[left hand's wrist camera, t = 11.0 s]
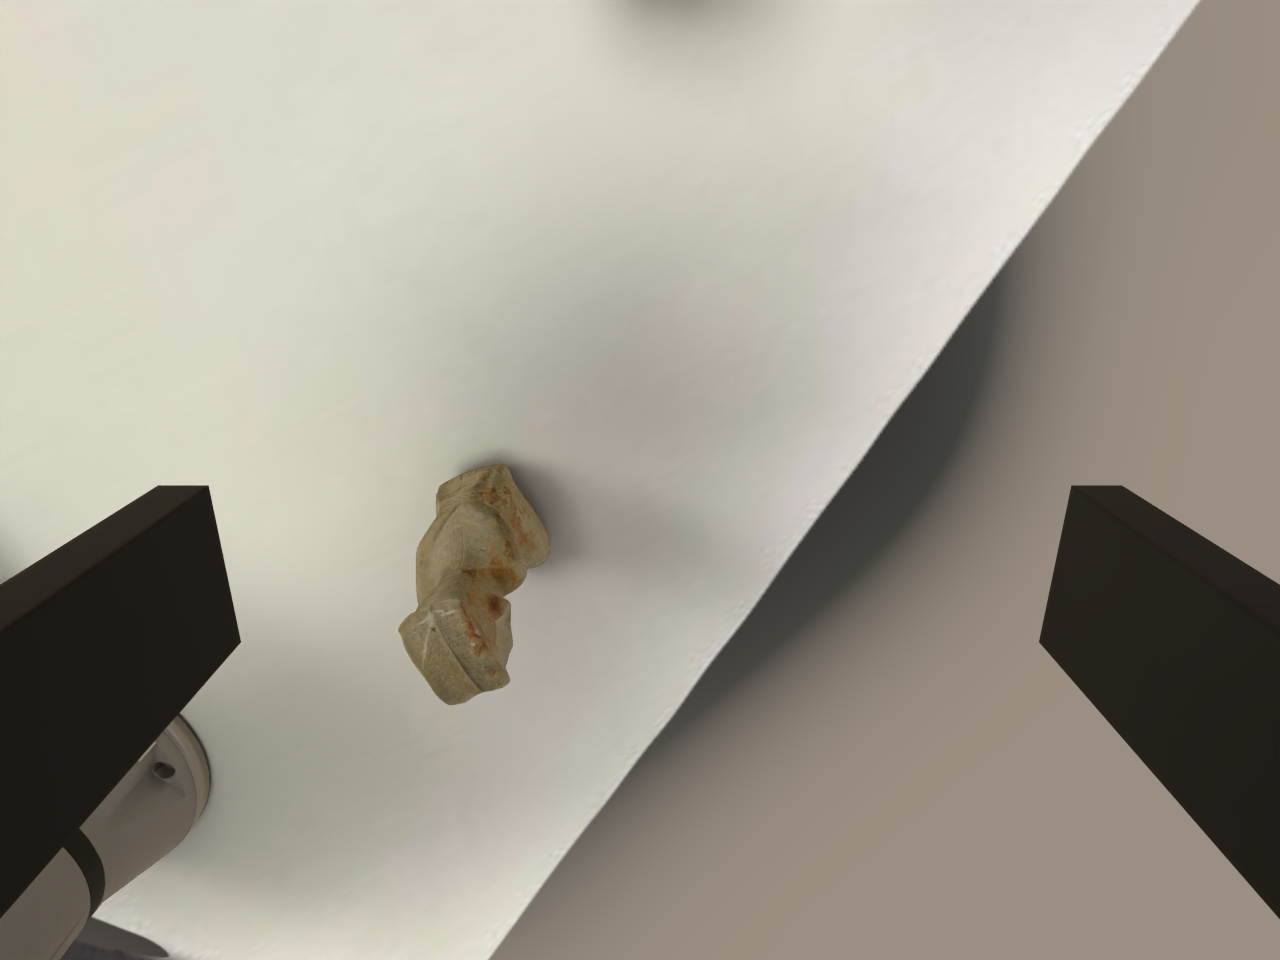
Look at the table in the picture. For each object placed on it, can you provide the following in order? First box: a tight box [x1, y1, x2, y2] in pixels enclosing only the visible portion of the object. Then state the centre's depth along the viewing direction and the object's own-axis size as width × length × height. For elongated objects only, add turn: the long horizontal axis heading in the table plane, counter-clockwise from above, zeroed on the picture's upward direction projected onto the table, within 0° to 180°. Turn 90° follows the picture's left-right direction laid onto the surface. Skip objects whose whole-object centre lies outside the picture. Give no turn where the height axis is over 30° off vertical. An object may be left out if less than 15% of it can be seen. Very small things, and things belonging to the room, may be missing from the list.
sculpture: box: [399, 464, 550, 705], centre depth 40 cm, size 6×7×15 cm
